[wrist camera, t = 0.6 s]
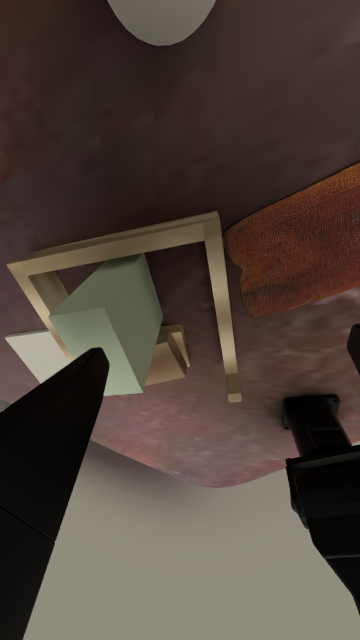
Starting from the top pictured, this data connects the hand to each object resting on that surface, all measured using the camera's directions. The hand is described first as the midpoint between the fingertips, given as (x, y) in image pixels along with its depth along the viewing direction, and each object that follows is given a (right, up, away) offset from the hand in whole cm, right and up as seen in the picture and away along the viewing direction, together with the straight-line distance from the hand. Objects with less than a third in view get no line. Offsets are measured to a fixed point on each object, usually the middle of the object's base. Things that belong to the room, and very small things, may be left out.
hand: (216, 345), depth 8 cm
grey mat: (-17, -4, +21) cm, 28 cm away
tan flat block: (-4, -3, +17) cm, 18 cm away
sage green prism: (-6, +4, +14) cm, 16 cm away
